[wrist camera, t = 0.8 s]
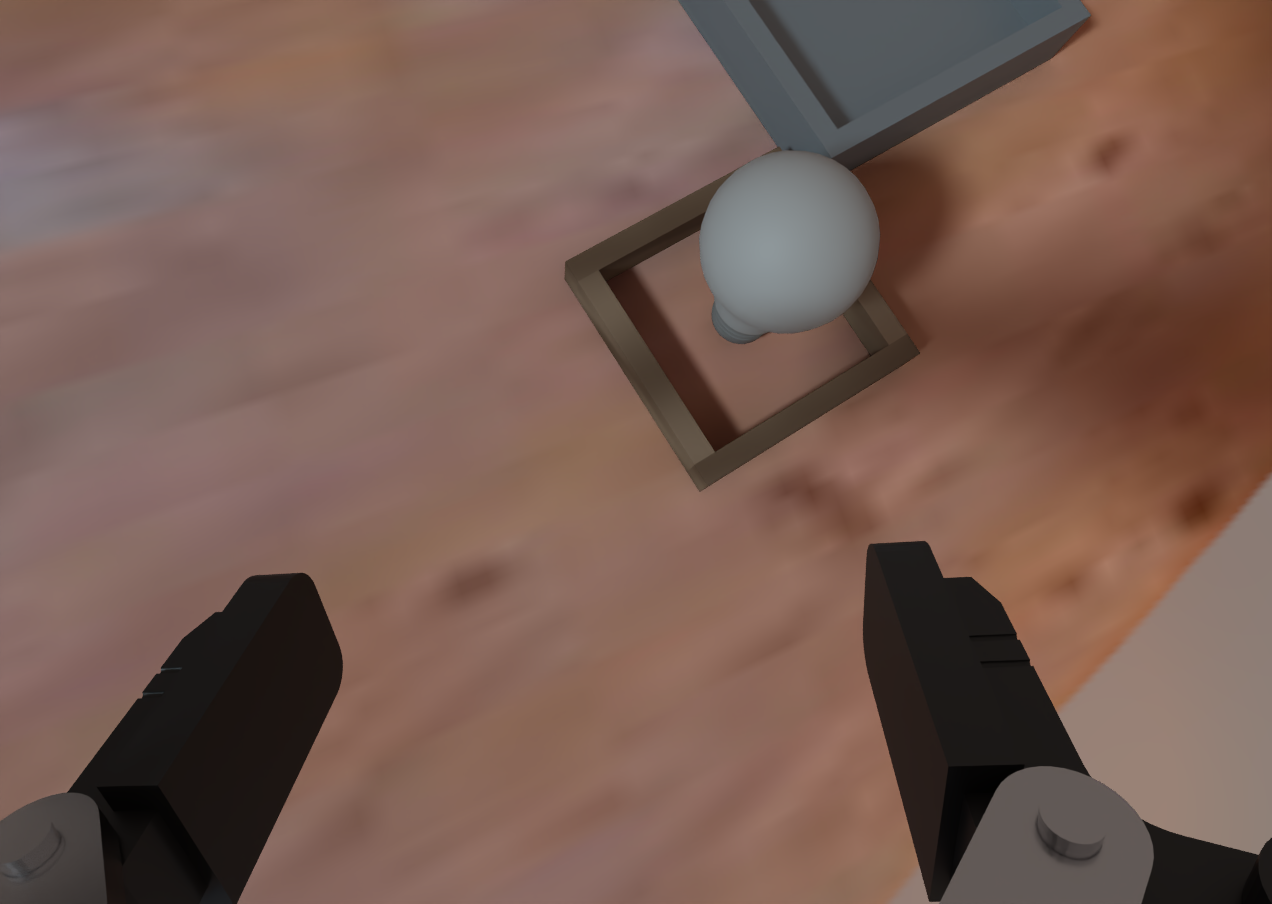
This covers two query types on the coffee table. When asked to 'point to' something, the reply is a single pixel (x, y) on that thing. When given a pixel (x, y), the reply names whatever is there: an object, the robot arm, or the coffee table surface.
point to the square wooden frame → (653, 385)
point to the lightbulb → (787, 245)
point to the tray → (874, 62)
